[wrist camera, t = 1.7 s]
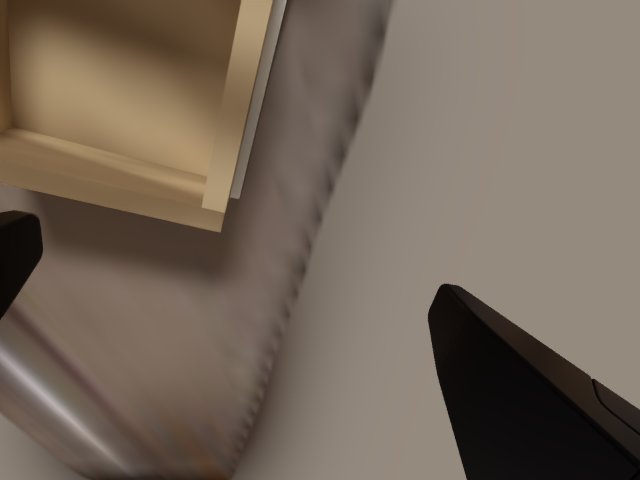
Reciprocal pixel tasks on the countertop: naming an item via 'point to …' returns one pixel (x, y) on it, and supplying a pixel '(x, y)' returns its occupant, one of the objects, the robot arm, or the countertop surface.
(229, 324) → the countertop surface
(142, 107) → the socket block
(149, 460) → the countertop surface
